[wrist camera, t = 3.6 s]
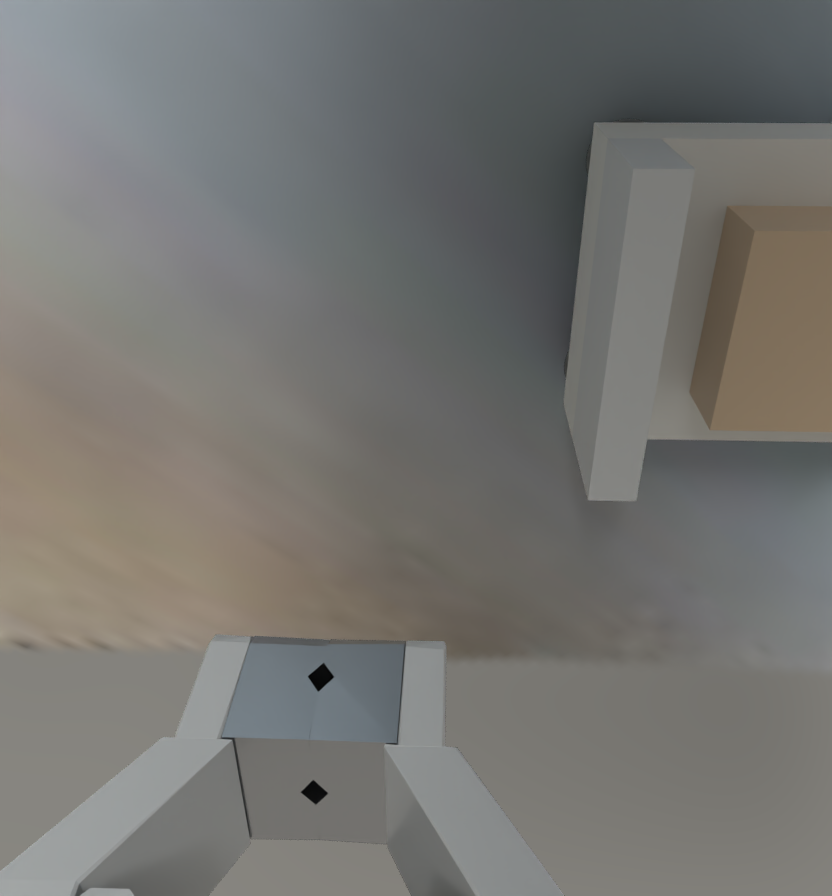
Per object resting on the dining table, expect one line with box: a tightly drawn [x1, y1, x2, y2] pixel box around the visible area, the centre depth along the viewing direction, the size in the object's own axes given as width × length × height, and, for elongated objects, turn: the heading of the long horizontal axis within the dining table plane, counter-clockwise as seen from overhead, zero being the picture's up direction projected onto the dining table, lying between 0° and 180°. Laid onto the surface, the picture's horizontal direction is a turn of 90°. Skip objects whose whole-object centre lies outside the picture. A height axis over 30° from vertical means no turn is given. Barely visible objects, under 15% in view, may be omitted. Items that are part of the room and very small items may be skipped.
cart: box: [563, 118, 832, 501], centre depth 20 cm, size 8×10×6 cm
